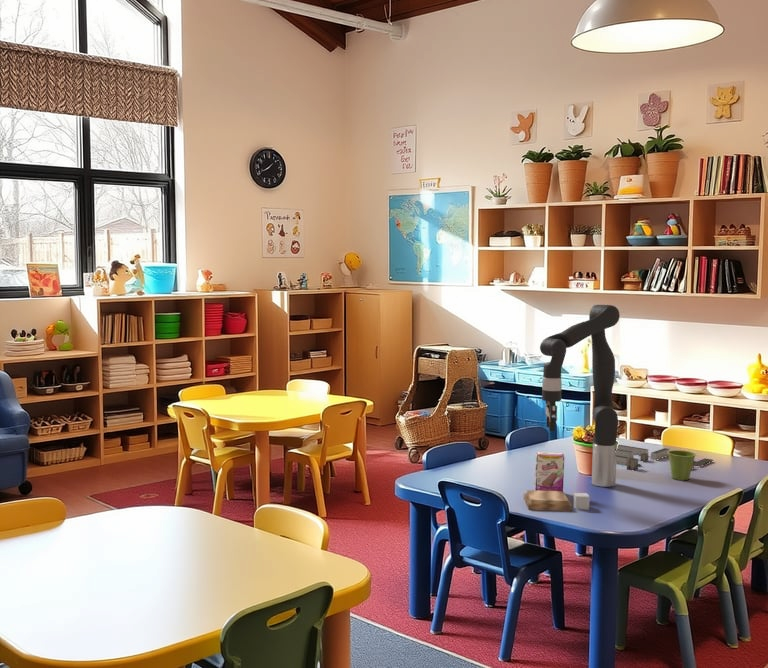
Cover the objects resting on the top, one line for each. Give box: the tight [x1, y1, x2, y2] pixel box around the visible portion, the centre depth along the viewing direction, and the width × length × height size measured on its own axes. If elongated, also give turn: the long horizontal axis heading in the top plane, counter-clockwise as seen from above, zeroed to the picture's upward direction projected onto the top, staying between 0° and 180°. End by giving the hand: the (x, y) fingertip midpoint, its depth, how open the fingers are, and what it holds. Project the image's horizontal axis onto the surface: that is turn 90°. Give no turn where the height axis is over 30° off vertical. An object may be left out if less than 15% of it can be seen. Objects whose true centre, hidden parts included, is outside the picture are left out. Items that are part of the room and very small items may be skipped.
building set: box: [615, 444, 714, 471], centre depth 414 cm, size 45×43×5 cm
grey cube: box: [573, 492, 591, 510], centre depth 336 cm, size 5×5×5 cm
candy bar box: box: [534, 451, 565, 492], centre depth 354 cm, size 11×5×16 cm, turn 84°
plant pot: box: [667, 449, 697, 481], centre depth 382 cm, size 12×12×11 cm
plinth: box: [523, 489, 573, 512], centre depth 339 cm, size 16×16×4 cm
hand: (550, 429), depth 353 cm, fingers open, 8 cm apart
